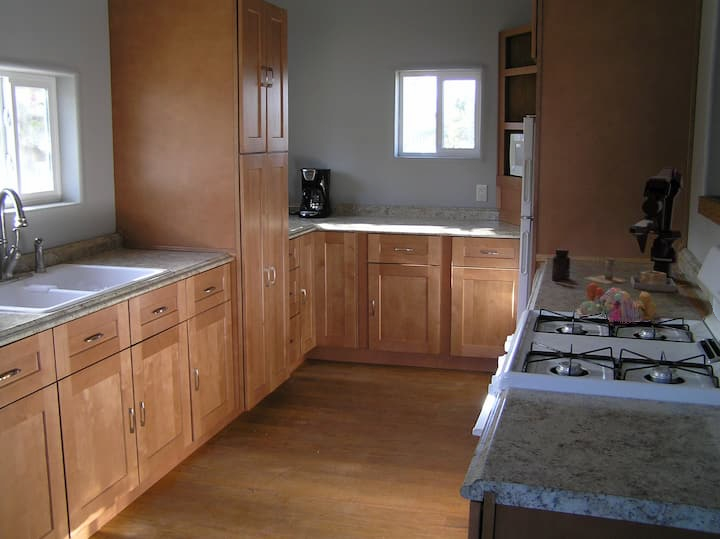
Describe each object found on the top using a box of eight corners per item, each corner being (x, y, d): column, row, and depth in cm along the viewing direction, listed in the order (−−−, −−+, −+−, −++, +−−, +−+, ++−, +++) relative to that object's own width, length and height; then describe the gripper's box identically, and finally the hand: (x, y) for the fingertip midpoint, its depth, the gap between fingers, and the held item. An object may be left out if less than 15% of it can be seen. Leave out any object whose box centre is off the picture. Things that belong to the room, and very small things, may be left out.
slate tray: (630, 282, 295) (631, 276, 295) (671, 285, 291) (671, 278, 291) (632, 290, 282) (633, 283, 281) (675, 292, 278) (675, 285, 277)
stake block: (603, 277, 306) (605, 255, 304) (628, 282, 296) (629, 260, 294) (581, 280, 300) (582, 257, 298) (605, 285, 290) (607, 262, 288)
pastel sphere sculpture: (656, 310, 251) (658, 282, 250) (664, 328, 229) (666, 297, 227) (575, 305, 258) (577, 278, 256) (575, 322, 235) (576, 292, 234)
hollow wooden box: (639, 285, 288) (640, 272, 287) (654, 283, 292) (655, 270, 291) (653, 288, 282) (654, 274, 281) (669, 286, 286) (670, 272, 285)
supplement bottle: (571, 282, 295) (573, 251, 293) (553, 282, 295) (555, 250, 293) (567, 279, 302) (569, 248, 300) (549, 278, 302) (551, 248, 300)
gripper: (620, 211, 288) (617, 253, 291) (662, 216, 272) (659, 260, 275) (640, 209, 294) (637, 250, 297) (683, 214, 278) (680, 257, 281)
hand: (652, 254), depth 287 cm, fingers open, 9 cm apart
